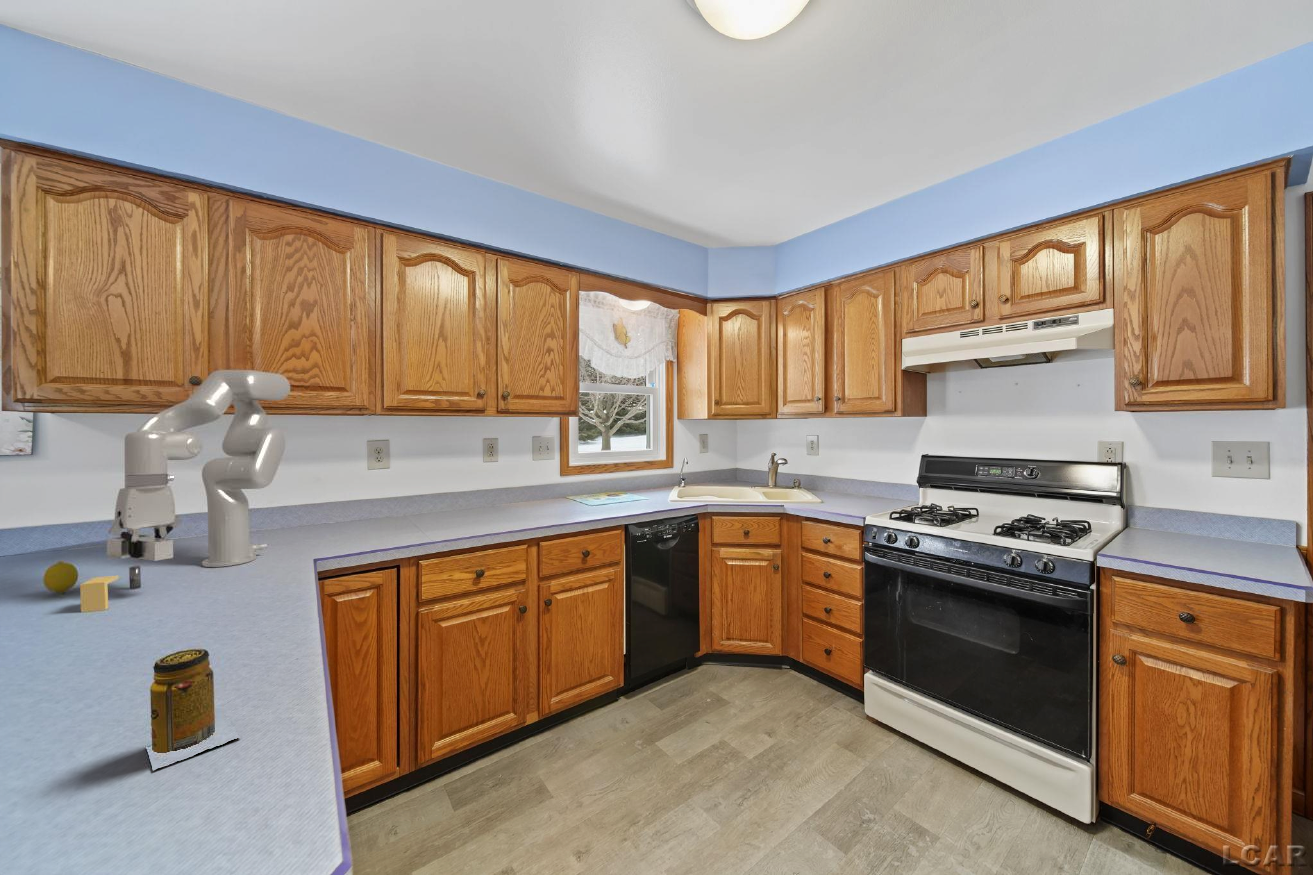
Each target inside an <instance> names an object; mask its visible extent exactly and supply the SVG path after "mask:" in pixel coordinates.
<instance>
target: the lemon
mask: <svg viewBox="0 0 1313 875" xmlns="http://www.w3.org/2000/svg"><path fill="white" fill-rule="evenodd" d="M78 578H79V573H78V570H77V567H76V566H75V565H73V564H72V563H69V562H64V561H57V563H55V564H53V565H51V566H49V567H48V568H47V569H46V570H45V572H44V576H43V584H44V587H45V588H46V589H47V590H49V591H51V592H56V593H58V594H61V595H62V594H65V592H67V591H68V590H70V589H72V588H73V587H74V586H75V585H76V583H77V582H78Z"/></svg>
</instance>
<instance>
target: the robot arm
mask: <svg viewBox="0 0 1313 875" xmlns="http://www.w3.org/2000/svg"><path fill="white" fill-rule="evenodd" d="M290 393H291V383H290V381H289V379H287V377H286V376H284V375H283V374H280V373H274V372H266V371H260V370H259V371H258V370H253V369H219V370H215V371H213V372H212V373H210V374H209V375H208V376H207V377H206V378H205V379H204V380H203V382H202V383H201V384H200V385H199V386H198V388H196V389H195V391H194V392H193V393H191V395H189V397H188V398H187V399H186V400H185V401H182V402H180V403H178V404H175V405H173V406H171V407H169V408H166V409H165V410H162V411H161V412H159V413H156V414H155V415H153V416H151V417H150V418H149V419H148V420H147V421H145V422H144V423H143V424H142V425H141V426H140V428H138V430H136V431H135V432H129V433H127V434H125V436H124V488H119V490H118V494H117V497H116V504H115V509H114V519H113V520H114V522H113V524H112V525H111V526H110V528H109V529H108V530H107V531H108V533H109V534H112V535H115V536H117V537H122V538H123V539H125V540H126V541H128V553H129V555H130V556H131V557H130V558H131V559H132V558H133V559H139V558H140V557H141V542H140V541H138V537H139V534H140V530H141V529H149V528H153V533H154V535H155V538H163V539H166V537H168V535H169V534H170V533H171V532H172V531H174V530H173V529H176V528H178V527H180V525H181V524H182V521H181V520H180V518H178V516H177V515H176V507H175V506H176V504H175V498H174V493H173V491H172V488H171V487H172V486H171V485H169V482H173V481H174V480H175V477H174V475H169V473H168V461H185V460H190V459H191V460H192V459H194V458H196V457H197V456H198V455H200V453H201V452H202V450H203V448H204V447H203V440H202V439H201V437H200V436H198V435H196V434H194V433H192V432H188V431H185V430H187V429H191V428H195V427H200V426H204V425H207V424H209V423H213V422H216V421H218V420H219V419H220V418H221V417H222V416H223V415H224V413H225V412H226V411H227V409H228V408H229V407H230V405H231V404H233V408H234V415H233V418H232V420H231V423H230V424H229V427H228V428H227V431H226V434H225V436H224V438H223V441H222V444H221V450H222V451H223V453H224V454H225V455H226V457H217V458H214V459H211V460H209V461H207V462H206V463H205V464H204V466H203V468H202V469H201V478H202V481H203V486H204V489H205V493H206V494H205V495H206V502H207V534H208V535H207V538H208V540H207V541H208V542H207V543H208V558H206V559H203V560H202V562H201V566H202V567H204V568H205V567H206V568H221V567H230V566H236V565H237V566H238V565H240V564H241V565H242V564H246V563H249V562H253V561H254V560H256V559H257V554H256V552H257V551H262V550H266V549H268V545H267V544H268V543H265V542H262V543H258V544H257V543H255V544H254V543H250V513H249V501H248V498H247V496H246V495H245V493H244V492H243V490H256V489H257V490H258V489H265V488H266V487H268V486H270V484H271V483H272V482H273V481H274V478H275V476H276V474H277V471H278V467H279V465H280V463H281V460H282V457H283V455H284V453H285V448H286V439H285V436H284V434H283V432H282V431H281V430H280V429H279V428H276V427H267V423H268V415H267V413H266V411H265V409H263V407H262V406H261V404H260V402H258V401H282V400H284V399H286V398H287V397H288V396H289V395H290ZM227 456H229V457H227ZM123 529H125V530H126V531H124V530H123Z"/></svg>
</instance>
